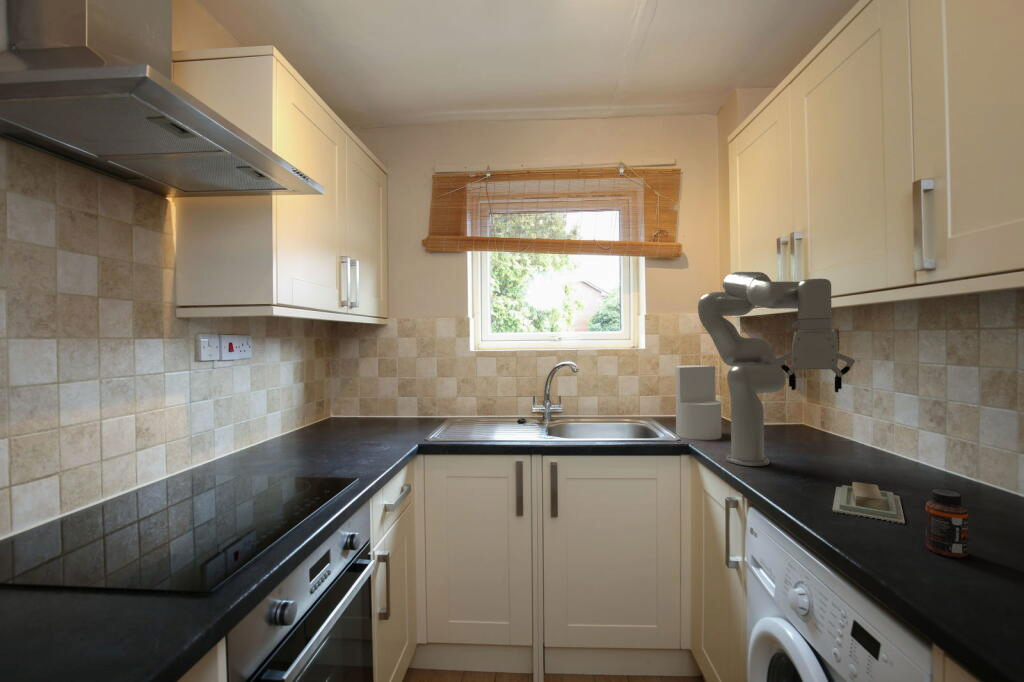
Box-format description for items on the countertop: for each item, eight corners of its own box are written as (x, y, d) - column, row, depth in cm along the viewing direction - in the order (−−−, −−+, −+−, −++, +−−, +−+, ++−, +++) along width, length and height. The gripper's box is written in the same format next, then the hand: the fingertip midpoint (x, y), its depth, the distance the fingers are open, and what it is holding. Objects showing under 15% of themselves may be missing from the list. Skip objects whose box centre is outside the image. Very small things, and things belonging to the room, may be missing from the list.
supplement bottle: (970, 562, 86) (970, 500, 85) (927, 553, 89) (926, 493, 89) (965, 550, 90) (965, 491, 90) (924, 542, 94) (924, 485, 94)
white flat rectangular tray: (836, 488, 127) (836, 482, 127) (899, 497, 119) (899, 491, 119) (832, 511, 111) (832, 505, 110) (904, 524, 103) (904, 517, 103)
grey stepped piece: (667, 432, 200) (666, 366, 199) (701, 429, 205) (701, 364, 204) (694, 441, 183) (694, 369, 183) (731, 437, 188) (730, 367, 188)
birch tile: (855, 508, 111) (855, 495, 111) (852, 493, 121) (852, 481, 121) (882, 512, 108) (882, 499, 108) (877, 496, 118) (877, 484, 118)
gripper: (775, 326, 128) (775, 390, 128) (854, 325, 117) (854, 394, 117) (779, 326, 134) (779, 387, 134) (855, 325, 123) (855, 391, 124)
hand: (814, 390), depth 126 cm, fingers open, 9 cm apart
